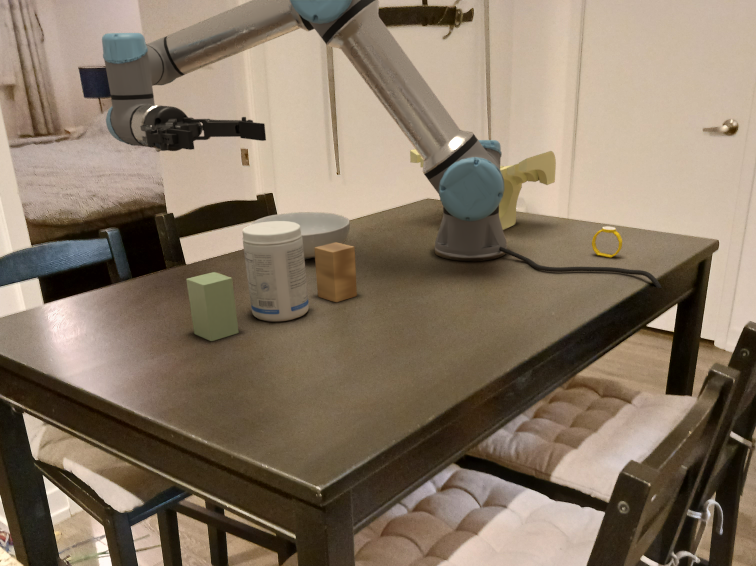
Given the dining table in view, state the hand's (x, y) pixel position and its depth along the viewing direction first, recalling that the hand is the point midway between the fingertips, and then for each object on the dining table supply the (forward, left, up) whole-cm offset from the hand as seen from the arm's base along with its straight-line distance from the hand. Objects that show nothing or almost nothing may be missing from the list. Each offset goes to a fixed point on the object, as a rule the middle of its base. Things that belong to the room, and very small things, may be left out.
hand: (228, 136), depth 123 cm
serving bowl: (+3, -32, -28) cm, 43 cm away
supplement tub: (-8, +5, -28) cm, 30 cm away
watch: (-60, -42, -28) cm, 79 cm away
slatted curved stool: (-30, -65, -28) cm, 77 cm away
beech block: (-15, -6, -28) cm, 32 cm away
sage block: (-2, +16, -28) cm, 32 cm away
